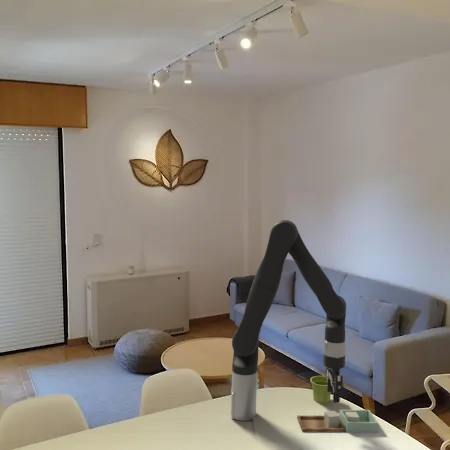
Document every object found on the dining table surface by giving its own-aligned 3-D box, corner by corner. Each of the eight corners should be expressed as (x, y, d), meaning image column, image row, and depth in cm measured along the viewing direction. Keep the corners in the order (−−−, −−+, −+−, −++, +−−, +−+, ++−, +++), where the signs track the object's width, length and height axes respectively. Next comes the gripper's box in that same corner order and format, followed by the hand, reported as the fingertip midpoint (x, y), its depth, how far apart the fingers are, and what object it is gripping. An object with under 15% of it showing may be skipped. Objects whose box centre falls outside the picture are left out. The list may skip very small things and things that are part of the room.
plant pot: (335, 407, 199) (336, 385, 198) (311, 406, 199) (312, 384, 198) (331, 396, 208) (332, 376, 207) (307, 396, 208) (308, 375, 207)
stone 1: (328, 427, 181) (328, 416, 181) (323, 422, 185) (324, 411, 185) (339, 426, 182) (339, 416, 182) (334, 421, 186) (334, 410, 186)
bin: (346, 433, 178) (347, 422, 178) (339, 420, 188) (339, 409, 188) (377, 433, 179) (378, 422, 178) (368, 420, 189) (369, 409, 188)
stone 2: (347, 427, 181) (348, 417, 181) (344, 422, 185) (345, 411, 185) (358, 428, 181) (359, 417, 181) (355, 422, 185) (356, 412, 185)
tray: (302, 433, 178) (302, 429, 178) (297, 419, 188) (297, 415, 188) (344, 433, 179) (344, 429, 179) (337, 419, 189) (337, 415, 189)
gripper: (319, 346, 188) (318, 388, 189) (328, 360, 174) (327, 406, 175) (339, 345, 188) (338, 388, 190) (350, 359, 174) (349, 405, 176)
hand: (333, 396), depth 183 cm, fingers open, 8 cm apart
